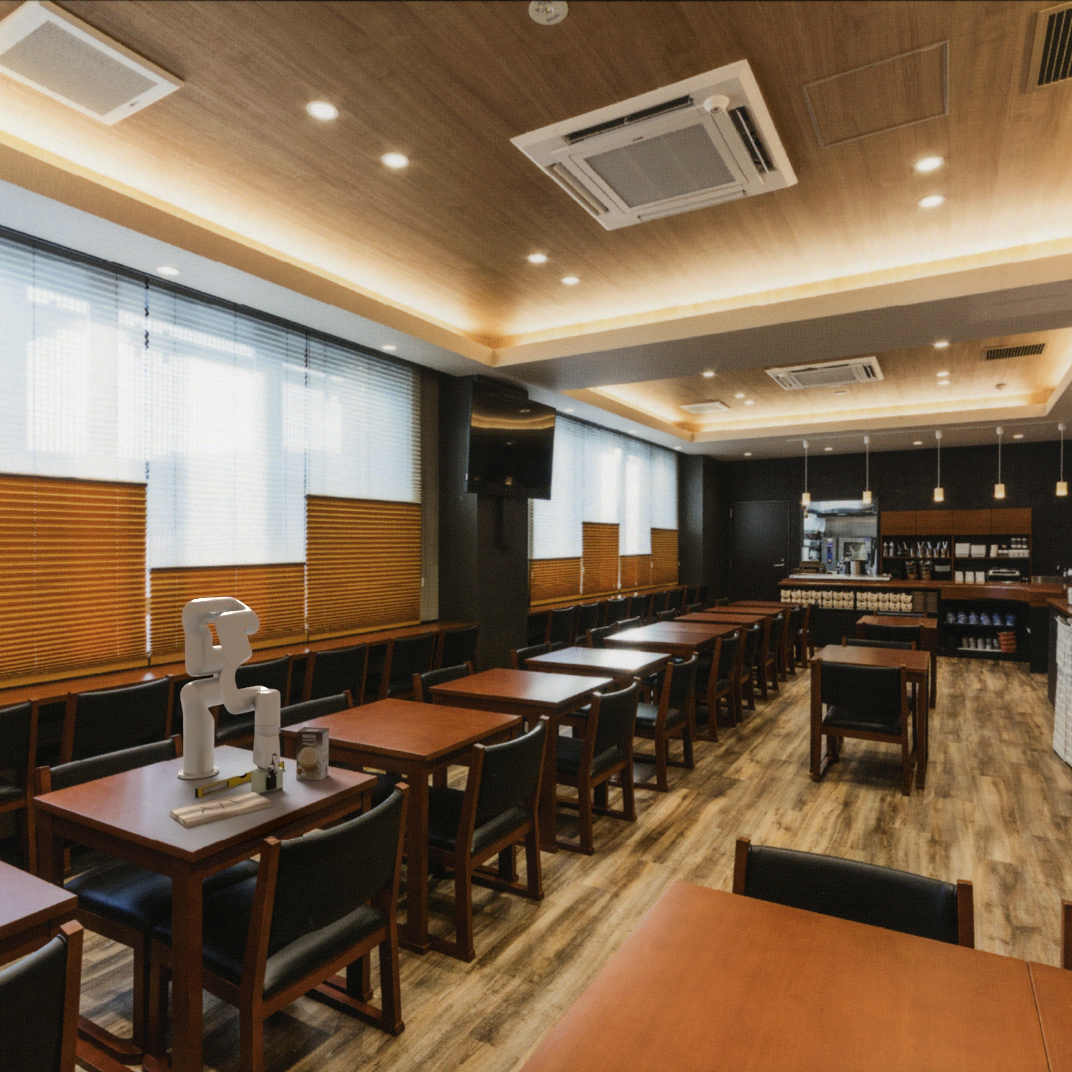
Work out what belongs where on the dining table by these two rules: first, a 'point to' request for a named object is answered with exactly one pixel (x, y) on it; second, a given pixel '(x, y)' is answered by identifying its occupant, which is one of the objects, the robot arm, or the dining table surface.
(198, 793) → the spirit level
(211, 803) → the board
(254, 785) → the sanding block
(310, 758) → the coffee box
